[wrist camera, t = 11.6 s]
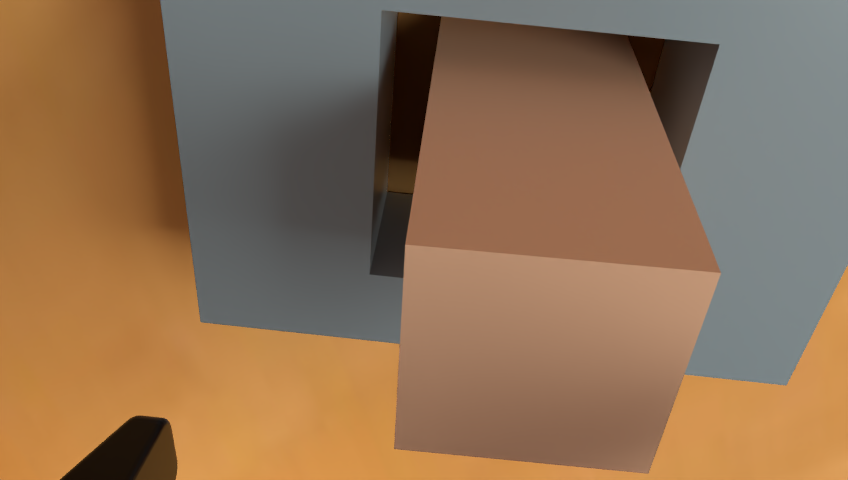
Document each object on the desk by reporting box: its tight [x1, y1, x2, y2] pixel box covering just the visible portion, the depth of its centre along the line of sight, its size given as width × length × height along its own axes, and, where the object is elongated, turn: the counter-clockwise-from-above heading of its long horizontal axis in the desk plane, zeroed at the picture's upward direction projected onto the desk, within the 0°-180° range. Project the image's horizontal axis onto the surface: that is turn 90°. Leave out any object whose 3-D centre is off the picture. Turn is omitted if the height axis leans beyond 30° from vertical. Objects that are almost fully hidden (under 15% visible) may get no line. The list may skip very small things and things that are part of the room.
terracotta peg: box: [394, 16, 721, 473], centre depth 14 cm, size 4×4×9 cm
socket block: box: [160, 0, 848, 385], centre depth 17 cm, size 14×10×4 cm
